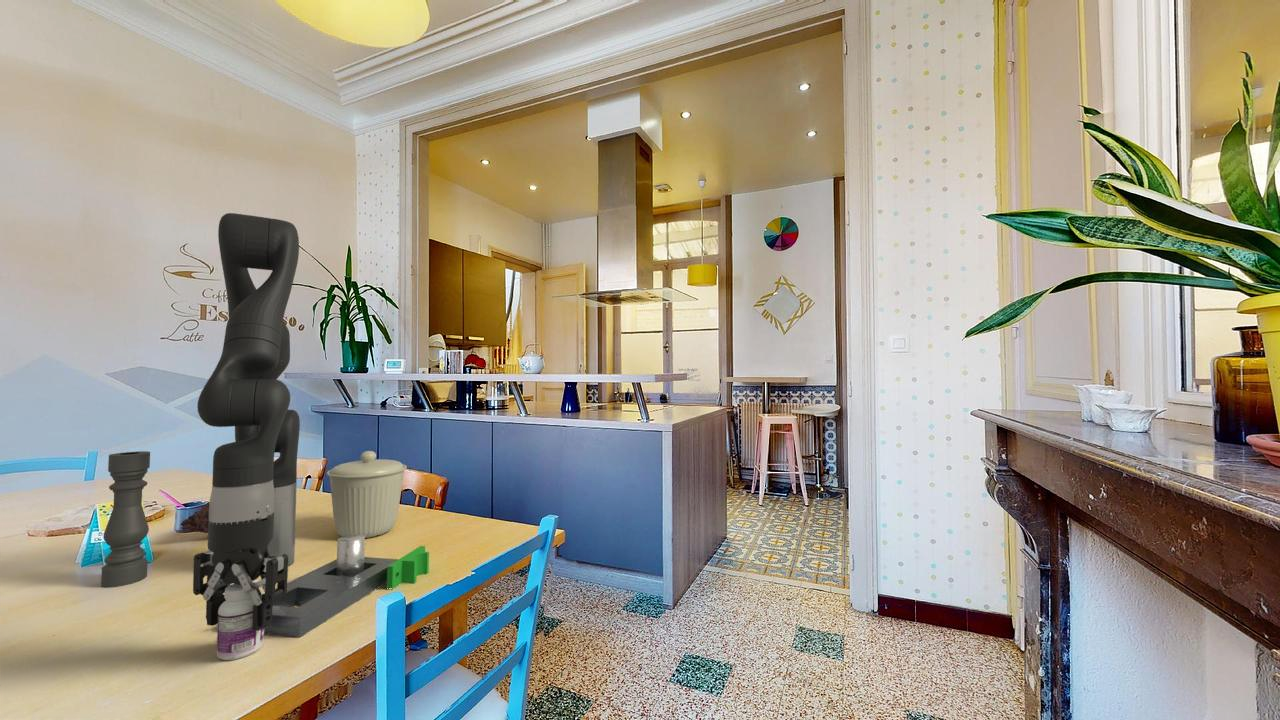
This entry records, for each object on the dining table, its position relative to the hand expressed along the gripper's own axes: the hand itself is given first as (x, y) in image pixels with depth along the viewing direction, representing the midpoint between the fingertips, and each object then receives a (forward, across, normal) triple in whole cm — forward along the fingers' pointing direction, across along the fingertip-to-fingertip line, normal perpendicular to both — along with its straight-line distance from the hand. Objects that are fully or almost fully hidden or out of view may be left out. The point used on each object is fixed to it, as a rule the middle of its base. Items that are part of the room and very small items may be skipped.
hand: (238, 625), depth 71 cm
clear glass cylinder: (+4, -1, +23) cm, 23 cm away
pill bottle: (+4, 0, 0) cm, 4 cm away
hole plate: (+4, -1, +17) cm, 17 cm away
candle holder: (+4, -46, +17) cm, 49 cm away
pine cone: (+4, -53, +43) cm, 68 cm away
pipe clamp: (+4, +9, +28) cm, 30 cm away
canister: (+4, -20, +51) cm, 55 cm away
